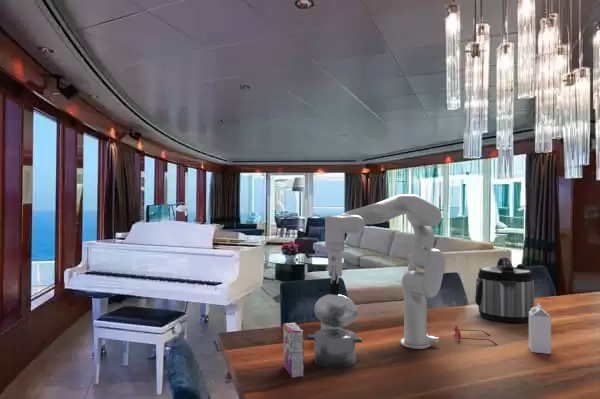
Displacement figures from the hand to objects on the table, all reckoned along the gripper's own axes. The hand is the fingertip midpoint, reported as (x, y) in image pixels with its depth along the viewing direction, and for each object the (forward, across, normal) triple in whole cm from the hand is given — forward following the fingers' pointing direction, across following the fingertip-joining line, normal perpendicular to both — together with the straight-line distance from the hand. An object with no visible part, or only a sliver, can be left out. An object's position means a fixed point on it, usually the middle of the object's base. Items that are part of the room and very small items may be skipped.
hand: (334, 293), depth 173 cm
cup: (+26, +23, +4) cm, 35 cm away
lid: (+8, +3, 0) cm, 9 cm away
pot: (+26, -1, 0) cm, 26 cm away
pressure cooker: (+26, +76, -84) cm, 116 cm away
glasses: (+26, +35, -60) cm, 74 cm away
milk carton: (+26, +23, -83) cm, 90 cm away
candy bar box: (+26, -15, +14) cm, 33 cm away
